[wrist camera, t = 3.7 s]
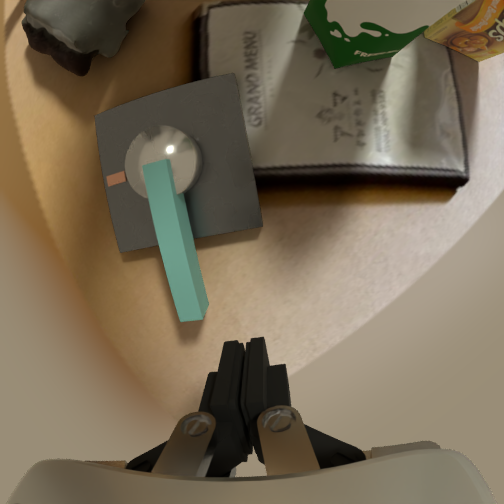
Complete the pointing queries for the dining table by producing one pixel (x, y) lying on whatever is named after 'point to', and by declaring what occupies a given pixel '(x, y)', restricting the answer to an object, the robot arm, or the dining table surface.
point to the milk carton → (371, 26)
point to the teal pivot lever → (171, 208)
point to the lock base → (213, 160)
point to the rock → (77, 29)
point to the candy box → (472, 29)
